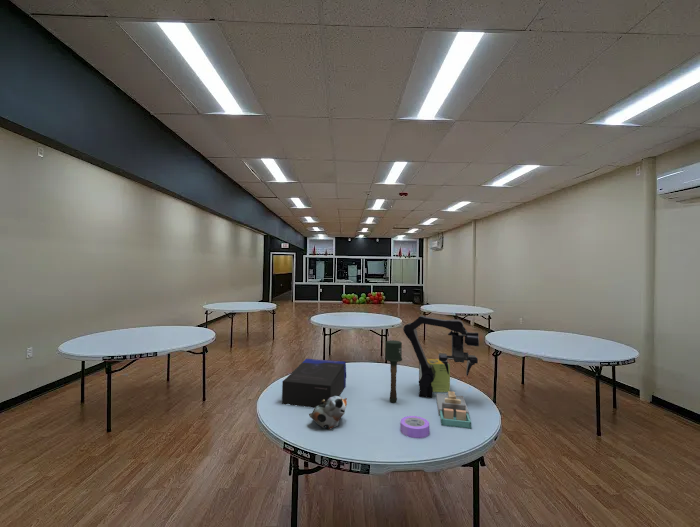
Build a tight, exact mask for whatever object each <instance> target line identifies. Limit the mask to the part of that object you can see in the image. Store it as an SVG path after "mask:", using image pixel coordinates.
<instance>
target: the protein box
mask: <svg viewBox="0 0 700 527" xmlns="http://www.w3.org/2000/svg"><path fill="white" fill-rule="evenodd" d="M426 359H427V361H428V363H429V364H430V366H431V365H433V366H434V370H435V371H436V373H435V374H436V376H435V378H434V380H433V382H431V385H432V387H433V393H448V391H451V363H450V362H448V370H449V375H448V373H447V370H446V366H445V364H444V363H442V361H439V358H426ZM421 377H422V371H421V365H420V363H419V362H418V381H419V380H420V378H421Z"/></svg>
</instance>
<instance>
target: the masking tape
mask: <svg viewBox="0 0 700 527" xmlns="http://www.w3.org/2000/svg"><path fill="white" fill-rule="evenodd" d="M399 421H400V422H399V424H400V432H401V434H402V435H404V436H406V437H407V438H408V437H409V438H411V439H412V438H413V439H424V438H427V437H428V436H429V435H430V422H429V420H427V418H424V417H421V416H417V415H409V416H408V415H407V416H404V417H402V418H400V420H399Z"/></svg>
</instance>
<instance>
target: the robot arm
mask: <svg viewBox="0 0 700 527" xmlns="http://www.w3.org/2000/svg"><path fill="white" fill-rule="evenodd" d="M464 324H465V323H464V322H463V321H462V320H461V319H441V318H436V317H430V316H426V315H419V316H418V318H416V319H415V320H414V321H412V322H409V323H406V324H405V325H404V326H403V328H402V329H403V330H402V331H403V332H404V335H405V336H406V338H408V340H409V341H410V343H411V346H412V348H413V351H414V353H415V355H416V358H417V360H418V364H419V363H420V365H421V371H422V377H421V378H420V380H419V379H418V386H419V389H418V391H419V392H418V397H420V398H429V399H430V398H431V399H433V395H434V392H433V387H432V385H431V382H433V380H434V378H435V376H436V374H435V373H436V371H435V370H434V366H433V365H431V366H430V364H429V363H428V361H427V359H428V358H427V356H426V354H425V352H424V349H423V346H422V345H421V342H420V340H419V337H418V330H417V329H418V327H420V326H421V325H428V326H429V325H430V326H434V327H441V328H446V329H448V330H449V332H448V333H447V335H448V336H451V355H447V353H445V352H444V353H441V352H439V353H438V359H439V361H442V363H444V364H445V366H446V370H447V373H448V375H449V370H448V363H449V361H448V360H453V362H455V363H461V364H462V363H465V361H466V370H465V371H466V373H465V374H466V376H467V377H468V375H469V373H470V371H471V368H472V367H473V366H475V365H476V364H479V362H478V360H479V359H478V357H477V356H476V355H473V354H469V352H466V351H464V344H466V346H470V347H471V346H472V347H480V338H479V332H470V331H468V330H467V329H466V327H465V326H464Z"/></svg>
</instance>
